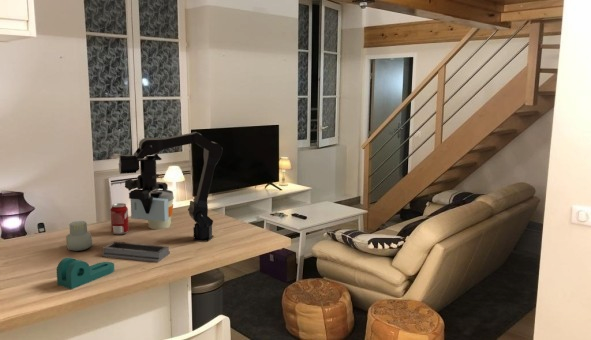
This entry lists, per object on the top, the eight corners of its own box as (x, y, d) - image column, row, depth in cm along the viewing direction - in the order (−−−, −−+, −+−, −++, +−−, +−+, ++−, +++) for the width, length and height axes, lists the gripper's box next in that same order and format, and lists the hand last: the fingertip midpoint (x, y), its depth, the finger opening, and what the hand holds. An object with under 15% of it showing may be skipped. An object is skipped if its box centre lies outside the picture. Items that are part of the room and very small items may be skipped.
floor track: (169, 253, 181) (169, 245, 181) (158, 262, 172) (157, 254, 172) (116, 248, 186) (115, 240, 185) (101, 256, 177) (101, 248, 176)
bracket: (71, 289, 149) (70, 265, 148) (57, 285, 153) (55, 261, 151) (118, 270, 165) (117, 248, 163) (104, 266, 168) (103, 244, 167)
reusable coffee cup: (170, 230, 208) (169, 196, 206) (140, 230, 208) (139, 195, 206) (177, 222, 221) (176, 189, 218) (149, 221, 221) (148, 189, 218)
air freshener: (93, 251, 182) (91, 225, 180) (68, 254, 178) (67, 228, 176) (89, 242, 192) (88, 217, 190) (66, 245, 188) (64, 220, 186)
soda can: (123, 236, 200) (122, 207, 198) (108, 234, 202) (106, 206, 200) (131, 231, 207) (130, 203, 205) (117, 229, 208) (116, 202, 206)
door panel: (168, 219, 188) (168, 198, 186) (164, 221, 185) (164, 200, 183) (135, 216, 191) (134, 196, 189) (131, 218, 188) (130, 198, 186)
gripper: (142, 166, 195) (143, 205, 198) (114, 175, 177) (116, 217, 180) (167, 168, 193) (168, 207, 196) (142, 177, 175) (144, 219, 178)
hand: (149, 212), depth 187 cm, fingers closed on door panel, 3 cm apart
